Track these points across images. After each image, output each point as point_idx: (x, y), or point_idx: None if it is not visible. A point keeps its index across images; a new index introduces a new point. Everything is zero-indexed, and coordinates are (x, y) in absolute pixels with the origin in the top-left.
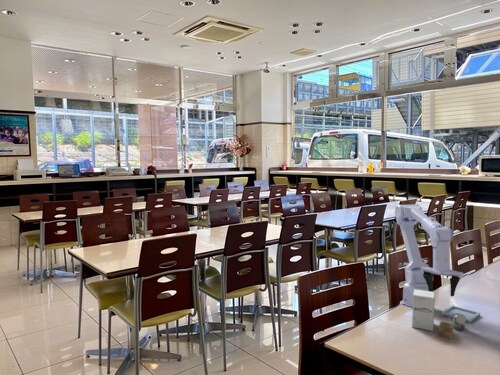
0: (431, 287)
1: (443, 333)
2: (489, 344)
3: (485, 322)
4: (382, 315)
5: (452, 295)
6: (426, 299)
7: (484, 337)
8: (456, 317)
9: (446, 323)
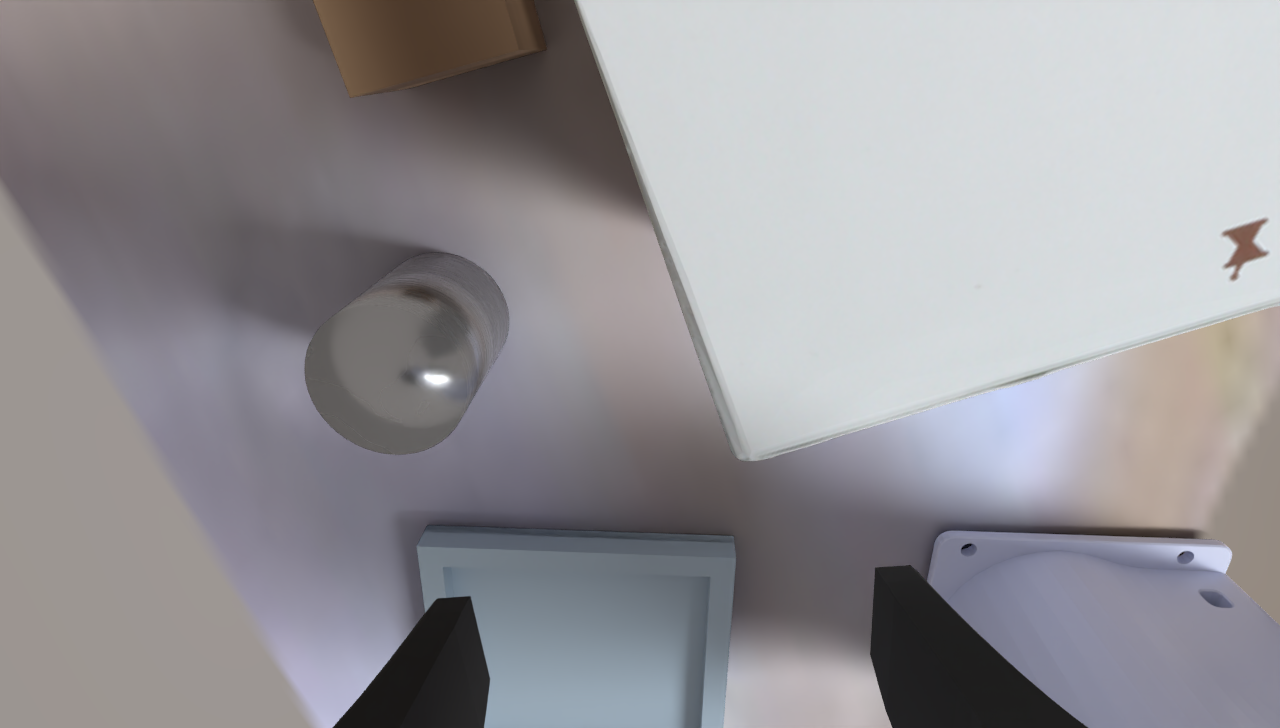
0: (912, 688)
1: None
2: (29, 136)
3: (349, 638)
4: None
5: (428, 610)
6: None
7: (162, 285)
8: (387, 304)
9: (423, 35)
